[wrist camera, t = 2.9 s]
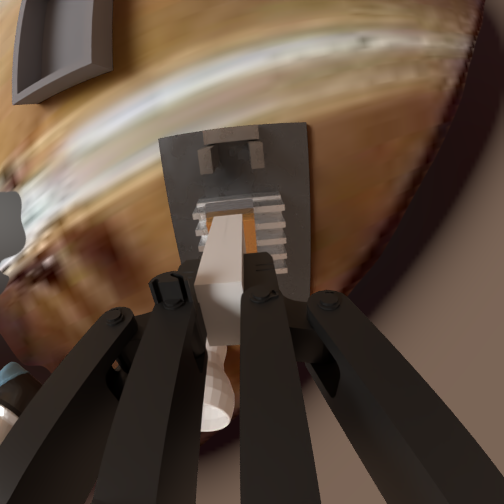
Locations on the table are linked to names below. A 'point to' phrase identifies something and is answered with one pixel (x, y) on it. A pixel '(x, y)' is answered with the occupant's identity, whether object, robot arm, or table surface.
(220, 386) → the cup
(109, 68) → the tray
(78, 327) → the table surface
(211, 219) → the strap
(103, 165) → the table surface
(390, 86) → the table surface
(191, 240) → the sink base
